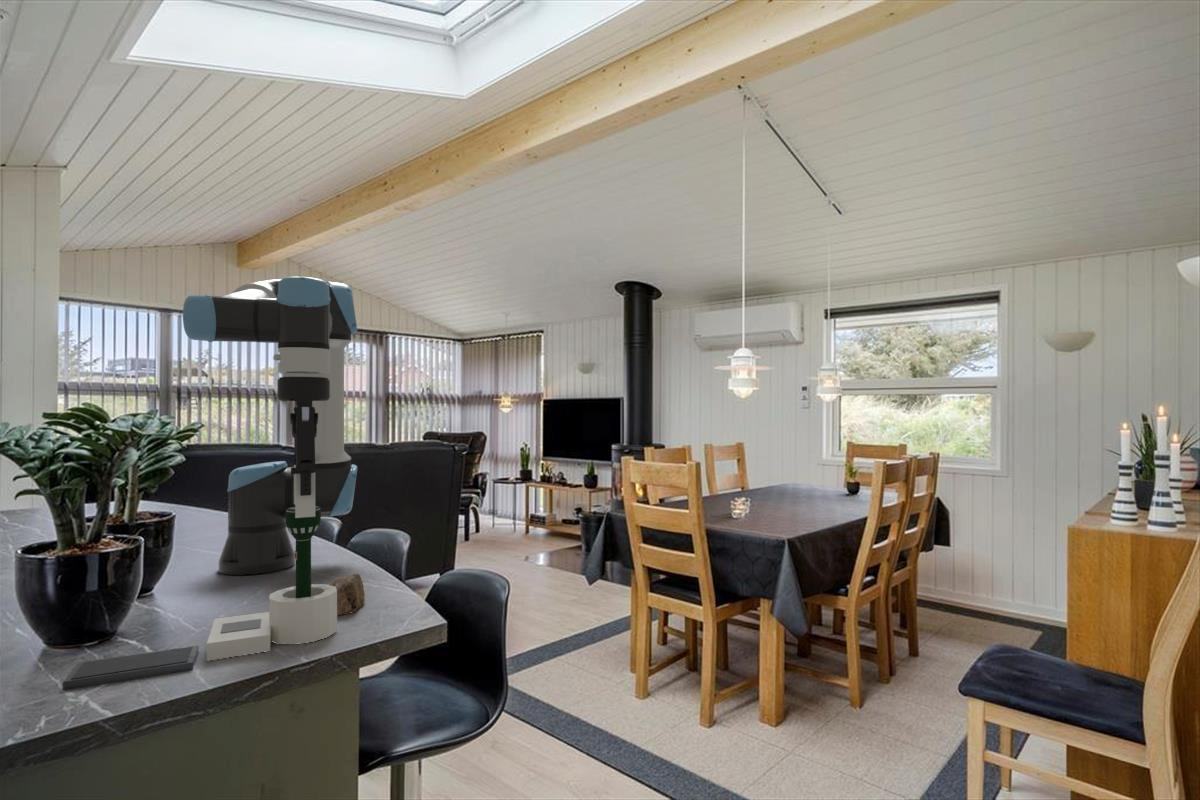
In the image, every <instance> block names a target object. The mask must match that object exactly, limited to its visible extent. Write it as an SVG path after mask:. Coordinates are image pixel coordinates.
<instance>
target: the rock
mask: <svg viewBox="0 0 1200 800" xmlns="http://www.w3.org/2000/svg"><path fill="white" fill-rule="evenodd" d="M328 585H331V586H335V587H336V589H337V616H341V615H342V614H343V615H347V614H346V613H349V614H351V613H350V612H354V613H356V612H357V610H358V609H360V608H361V606H362V605H363V603H365V599H366V598H365V597H366V595H365V594H366V593H365V588H364V586H365V585H364V583H363V580H362V577H361V575H360V574H359V573H357V572H355V573H352V574H348V575H344V576H340V577H339V578H337V579H334V580H332V581H331V582H329V584H328ZM357 608H358V609H357Z"/></svg>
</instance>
